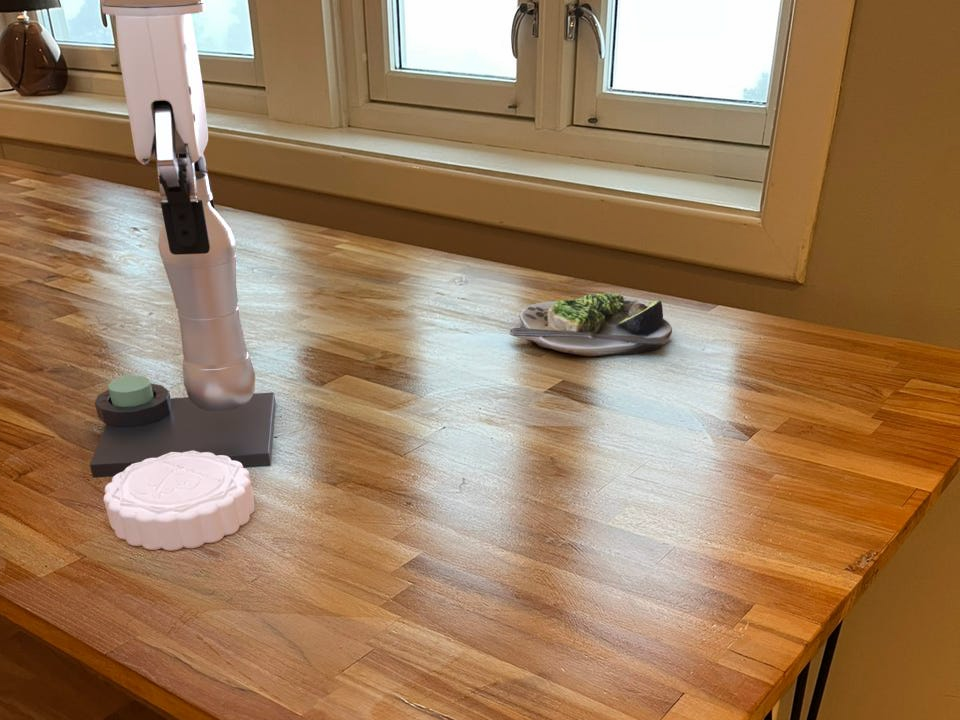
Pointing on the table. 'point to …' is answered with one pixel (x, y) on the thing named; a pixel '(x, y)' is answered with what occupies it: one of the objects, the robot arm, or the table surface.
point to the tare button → (130, 391)
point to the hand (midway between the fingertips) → (194, 238)
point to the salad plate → (595, 325)
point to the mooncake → (179, 500)
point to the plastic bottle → (210, 315)
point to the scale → (182, 431)
